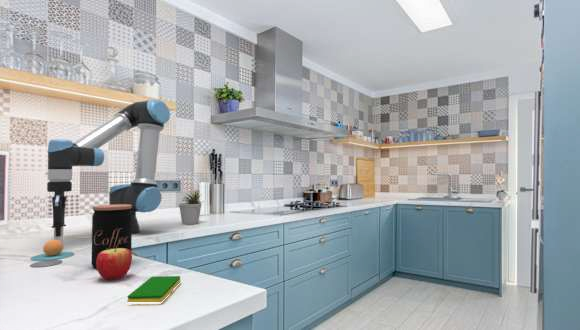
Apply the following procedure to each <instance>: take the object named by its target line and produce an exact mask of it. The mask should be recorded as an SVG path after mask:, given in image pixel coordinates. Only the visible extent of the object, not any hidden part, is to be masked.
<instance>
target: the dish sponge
mask: <svg viewBox="0 0 580 330" xmlns="http://www.w3.org/2000/svg"><path fill="white" fill-rule="evenodd" d="M179 283H180V284H181V276H180V275H170V276H169V275H168V276H167V275H166V276H165V275H164V276H163V275H161V276H159V275H158V276H151V277H150V278H147V280H146V281H145V282H143V283H141V285H139V286H137V288H136V289H134V290H133V291H132V292H131V293H129V294H128V295H127V302H162V301H163V300H164V299H165V298H166V297H167V296H168V295H169V294H170V293H171V292H172V291H173V289H174V288H175V287H176V286H177V285H178V284H179ZM173 292H174V291H173ZM173 292H172V293H173Z"/></svg>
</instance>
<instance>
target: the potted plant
mask: <svg viewBox="0 0 580 330" xmlns="http://www.w3.org/2000/svg"><path fill="white" fill-rule="evenodd" d="M185 194H186V195H187V196H186V195H184V196H183V199H182V202H183V201H184V202H183V203H179V204H178V207H179V210H180V211H179V212H180V218H181V219H180V220H181V223H182V225H184V224H185V225H187V226H190V225H192V224H193V225H197V224H199V221H200V217H201V216H200V214H201V210H202V209H201V208H202V203H203V202H205V200H203V201H200V200H201V199H199V198H200V196H201V195H200V189H198V191H194V192H190V194H191V195H190V194H188V193H186V192H185Z"/></svg>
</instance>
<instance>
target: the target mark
mask: <svg viewBox="0 0 580 330" xmlns="http://www.w3.org/2000/svg"><path fill="white" fill-rule="evenodd" d="M74 255H75V252H73V251H62V252H61V253H60V254H58V255H56V256H48V255H46V254H45V253H41V254H37V255H33V256H32V257H30V260H31V261H34V262H35V261H37V262H41V261H48V260H63V259H66V258H69V257H72V256H74Z"/></svg>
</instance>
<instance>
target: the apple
mask: <svg viewBox="0 0 580 330" xmlns="http://www.w3.org/2000/svg"><path fill="white" fill-rule="evenodd" d="M121 241H122V239H121V240H120V242H121ZM120 242H119V243H120ZM119 243H118V244H119ZM118 244H117V246H118ZM117 246H116V249H109V250H105V251H102V252H100V253H99V254H98V256H97V260H96V266H97V269H96V270H97V272H98V274H99V276H100V277H101V278H103V279H105V280H107V281H108V280H110V281H114V279H115V280H119V279H121V278H123V277H124V276H126V274H128V272H129V270H130V268H131V266H132V261H133V254H132V250H131V251H130V250H129V249H126V248H117Z"/></svg>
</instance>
